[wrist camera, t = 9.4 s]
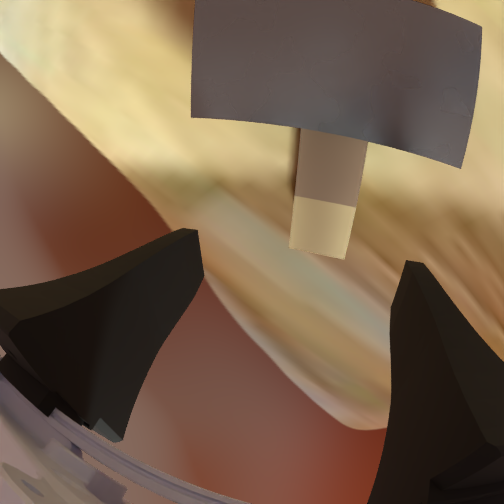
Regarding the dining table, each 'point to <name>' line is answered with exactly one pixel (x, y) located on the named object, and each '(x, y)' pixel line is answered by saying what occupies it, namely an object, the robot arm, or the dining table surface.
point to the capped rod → (326, 192)
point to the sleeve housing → (340, 70)
